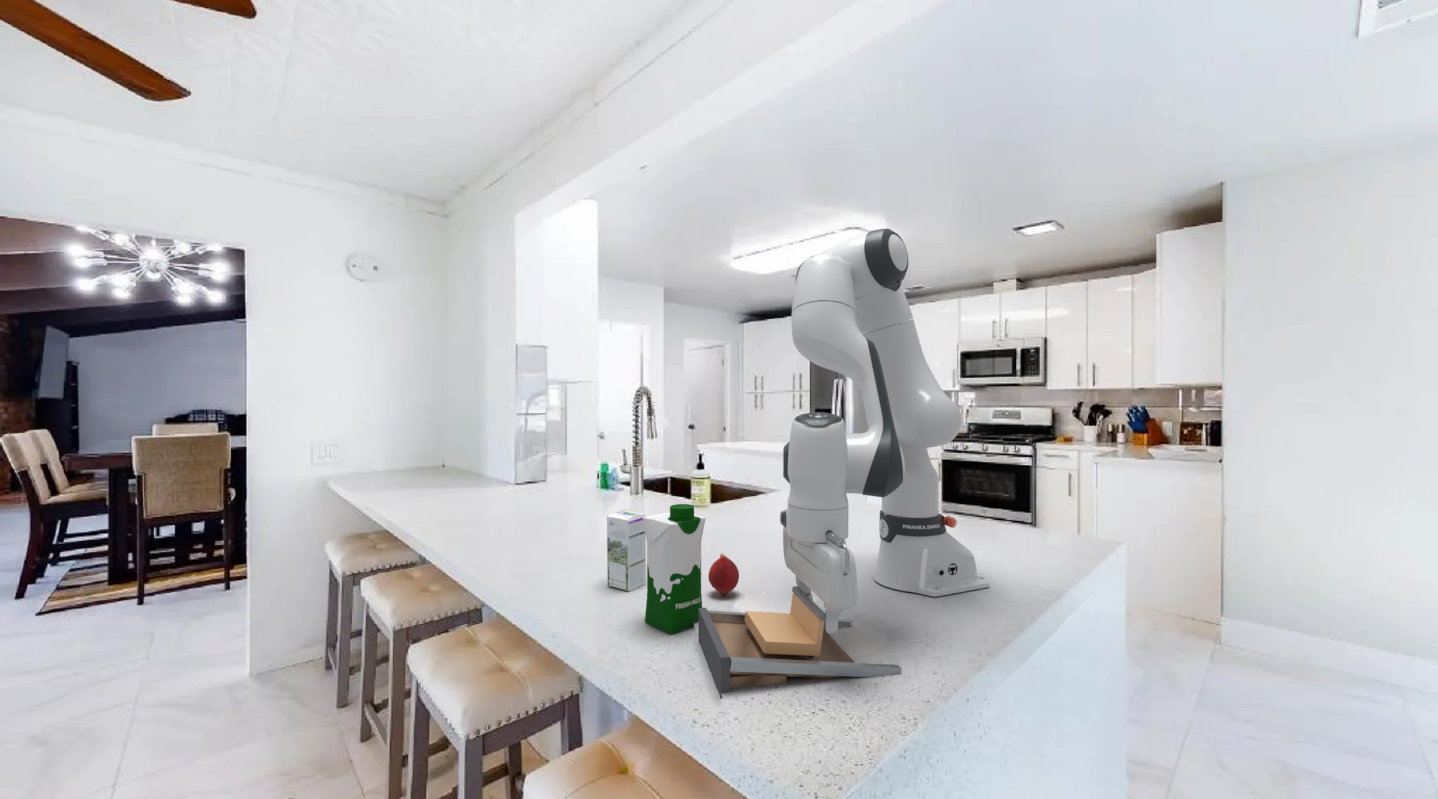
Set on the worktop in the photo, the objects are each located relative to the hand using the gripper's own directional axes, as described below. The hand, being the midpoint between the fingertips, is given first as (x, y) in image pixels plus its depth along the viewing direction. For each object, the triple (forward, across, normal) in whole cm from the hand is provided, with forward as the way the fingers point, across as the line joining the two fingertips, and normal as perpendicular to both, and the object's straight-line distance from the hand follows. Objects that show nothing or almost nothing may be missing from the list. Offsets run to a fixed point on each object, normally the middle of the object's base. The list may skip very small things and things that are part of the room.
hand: (817, 617), depth 84 cm
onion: (+6, +28, +8) cm, 29 cm away
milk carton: (+6, +17, +19) cm, 26 cm away
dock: (+6, 0, +3) cm, 7 cm away
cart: (+4, 0, +6) cm, 7 cm away
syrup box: (+6, +37, +26) cm, 45 cm away
